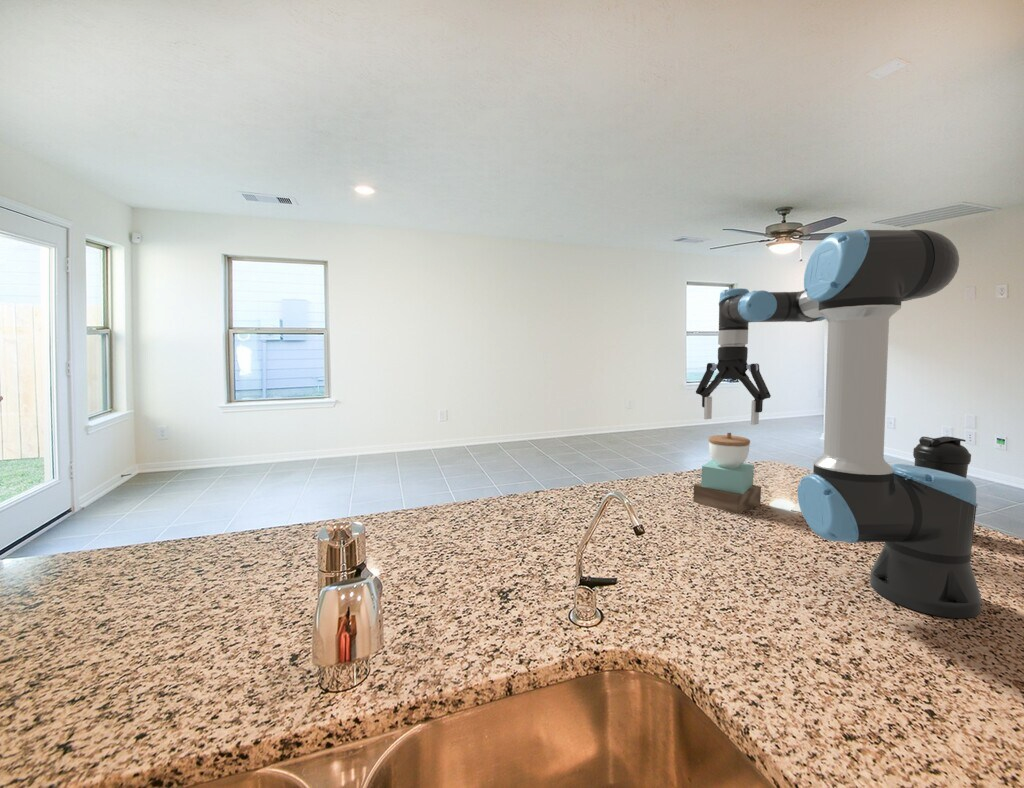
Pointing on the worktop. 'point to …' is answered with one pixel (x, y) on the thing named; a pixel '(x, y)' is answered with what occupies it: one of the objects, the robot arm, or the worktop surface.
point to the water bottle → (942, 455)
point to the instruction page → (796, 508)
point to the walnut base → (727, 498)
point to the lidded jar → (728, 450)
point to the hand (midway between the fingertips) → (730, 421)
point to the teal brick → (727, 477)
